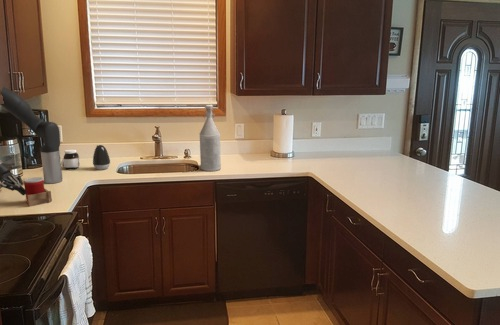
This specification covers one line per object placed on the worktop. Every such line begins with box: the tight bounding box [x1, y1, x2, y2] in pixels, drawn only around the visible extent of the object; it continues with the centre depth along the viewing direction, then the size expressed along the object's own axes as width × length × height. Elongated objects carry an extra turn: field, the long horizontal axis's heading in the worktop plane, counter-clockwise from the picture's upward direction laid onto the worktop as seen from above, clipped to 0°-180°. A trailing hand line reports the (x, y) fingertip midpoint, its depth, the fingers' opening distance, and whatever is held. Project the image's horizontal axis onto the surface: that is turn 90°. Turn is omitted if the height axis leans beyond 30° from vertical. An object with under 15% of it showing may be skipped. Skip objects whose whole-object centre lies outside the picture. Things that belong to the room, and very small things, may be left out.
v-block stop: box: [27, 187, 53, 207], centre depth 193 cm, size 13×7×5 cm, turn 179°
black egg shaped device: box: [92, 144, 111, 171], centre depth 256 cm, size 10×10×15 cm
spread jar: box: [60, 149, 81, 170], centre depth 259 cm, size 12×11×12 cm
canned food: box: [23, 176, 45, 204], centre depth 192 cm, size 8×8×11 cm
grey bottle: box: [198, 104, 222, 172], centre depth 254 cm, size 13×17×40 cm
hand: (25, 193), depth 192 cm, fingers closed
